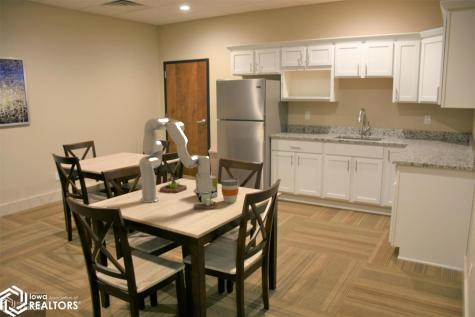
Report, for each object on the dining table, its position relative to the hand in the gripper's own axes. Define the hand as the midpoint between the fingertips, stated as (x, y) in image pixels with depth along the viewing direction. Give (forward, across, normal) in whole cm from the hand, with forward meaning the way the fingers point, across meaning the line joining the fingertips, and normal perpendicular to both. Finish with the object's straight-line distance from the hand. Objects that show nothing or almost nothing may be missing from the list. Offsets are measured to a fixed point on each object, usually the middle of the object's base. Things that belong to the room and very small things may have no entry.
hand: (204, 201), depth 251 cm
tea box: (+4, +9, +25) cm, 27 cm away
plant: (+4, -9, +54) cm, 55 cm away
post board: (+4, 0, 0) cm, 4 cm away
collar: (+1, 0, -2) cm, 2 cm away
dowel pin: (+2, +3, -4) cm, 6 cm away
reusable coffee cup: (+4, +20, +5) cm, 21 cm away
